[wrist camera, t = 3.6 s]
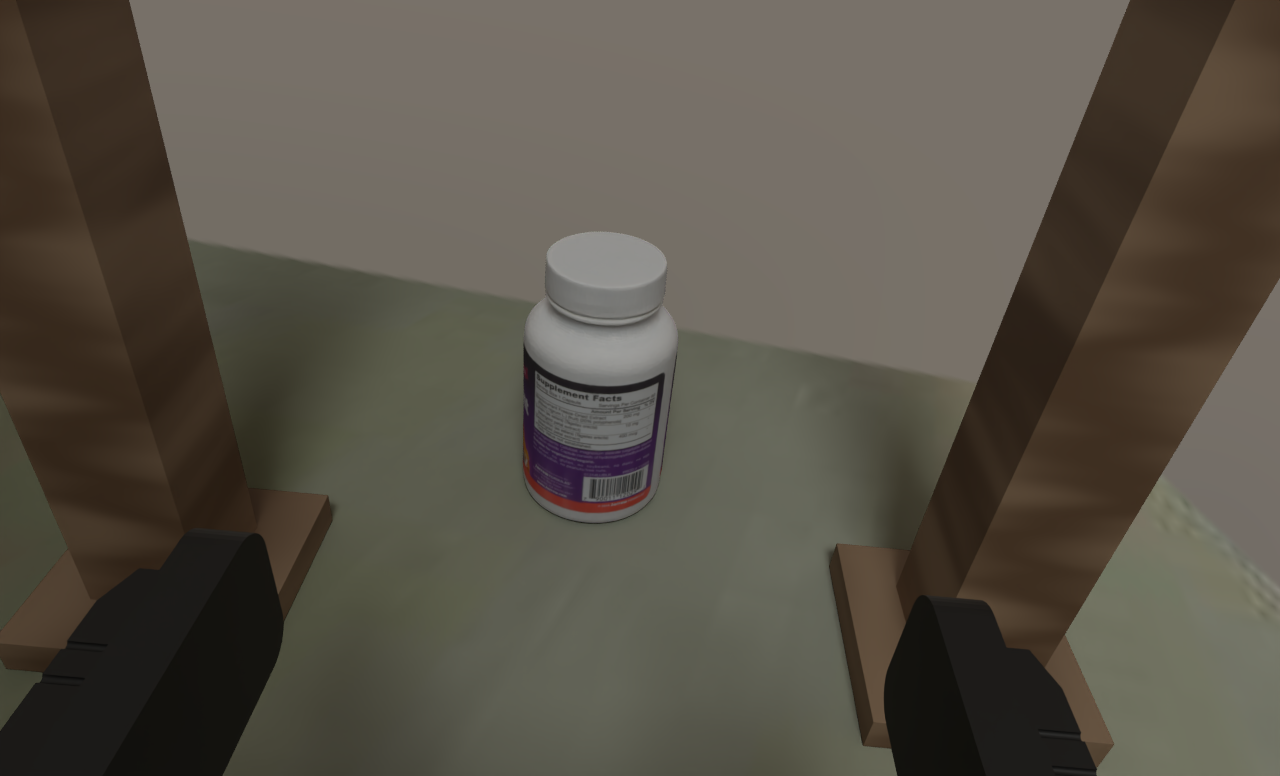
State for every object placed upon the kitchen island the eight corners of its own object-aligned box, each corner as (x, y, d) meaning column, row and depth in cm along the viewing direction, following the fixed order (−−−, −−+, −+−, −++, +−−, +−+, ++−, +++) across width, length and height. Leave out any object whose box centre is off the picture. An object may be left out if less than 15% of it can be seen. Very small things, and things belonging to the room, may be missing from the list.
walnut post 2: (863, 745, 25) (1380, -435, 10) (829, 566, 30) (1127, -353, 16) (1097, 767, 25) (1941, -367, 10) (1019, 584, 31) (1491, -311, 16)
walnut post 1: (6, 668, 24) (-763, -692, 10) (135, 501, 30) (-223, -512, 15) (250, 690, 24) (-140, -617, 10) (332, 519, 30) (164, -467, 15)
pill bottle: (559, 421, 36) (568, 208, 30) (677, 459, 34) (710, 244, 29) (496, 499, 32) (493, 270, 26) (628, 547, 30) (655, 315, 25)
